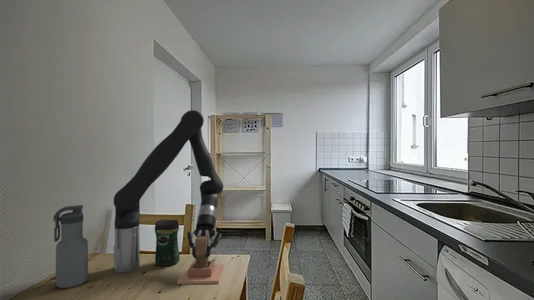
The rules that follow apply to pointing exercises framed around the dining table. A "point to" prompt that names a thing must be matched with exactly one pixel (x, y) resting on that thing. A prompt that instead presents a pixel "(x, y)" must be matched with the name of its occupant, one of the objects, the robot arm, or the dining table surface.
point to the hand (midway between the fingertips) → (200, 257)
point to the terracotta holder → (201, 274)
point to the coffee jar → (166, 242)
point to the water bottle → (70, 248)
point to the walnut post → (201, 251)
